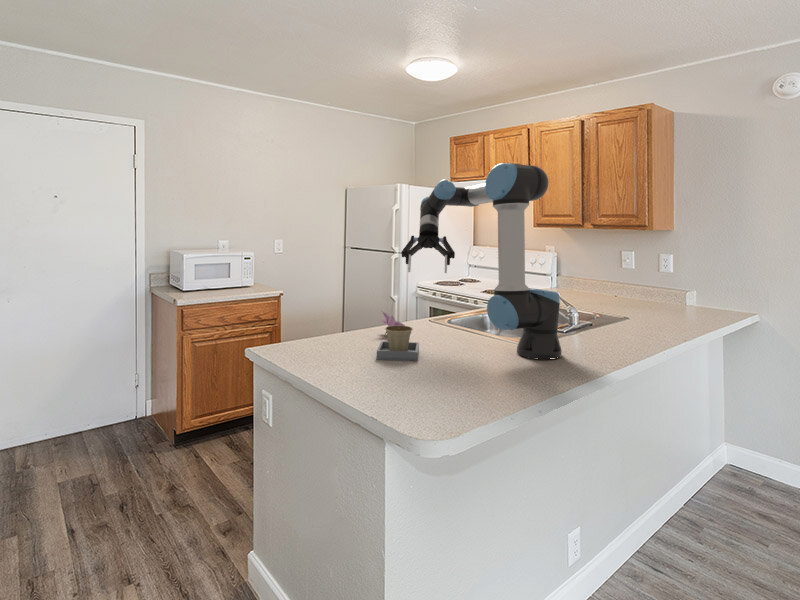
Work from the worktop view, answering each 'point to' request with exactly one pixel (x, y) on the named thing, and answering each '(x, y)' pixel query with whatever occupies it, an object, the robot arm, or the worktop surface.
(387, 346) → the tray
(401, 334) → the flower pot
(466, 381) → the worktop surface
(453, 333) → the worktop surface
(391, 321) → the lily
